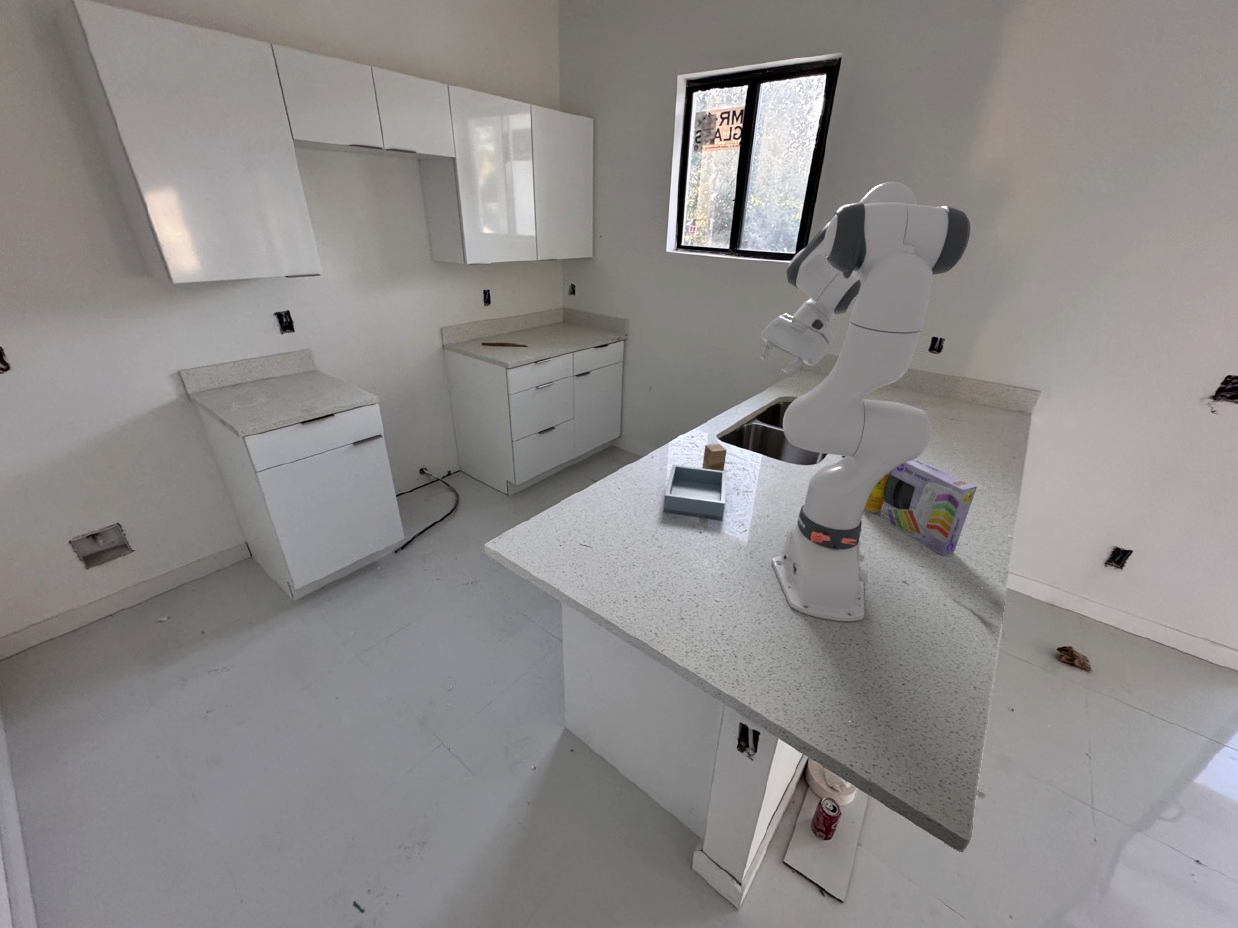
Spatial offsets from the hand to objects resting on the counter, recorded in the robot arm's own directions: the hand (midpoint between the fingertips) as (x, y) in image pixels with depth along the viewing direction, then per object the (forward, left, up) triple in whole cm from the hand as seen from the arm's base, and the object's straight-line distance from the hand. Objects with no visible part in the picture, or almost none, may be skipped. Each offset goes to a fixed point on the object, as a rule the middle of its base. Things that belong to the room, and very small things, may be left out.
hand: (772, 364), depth 135 cm
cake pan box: (-23, -38, -33) cm, 55 cm away
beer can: (-13, -30, -33) cm, 47 cm away
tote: (-21, +16, -33) cm, 42 cm away
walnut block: (-3, +12, -33) cm, 35 cm away
